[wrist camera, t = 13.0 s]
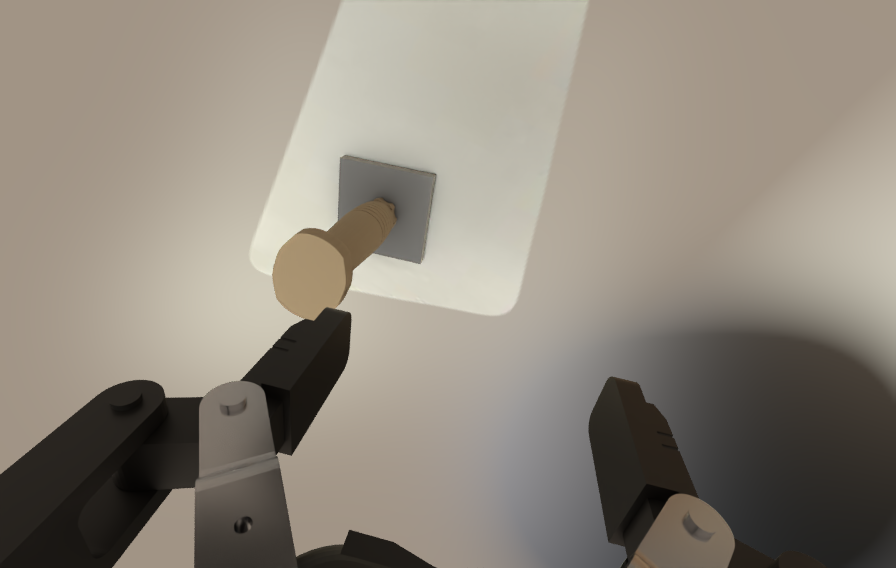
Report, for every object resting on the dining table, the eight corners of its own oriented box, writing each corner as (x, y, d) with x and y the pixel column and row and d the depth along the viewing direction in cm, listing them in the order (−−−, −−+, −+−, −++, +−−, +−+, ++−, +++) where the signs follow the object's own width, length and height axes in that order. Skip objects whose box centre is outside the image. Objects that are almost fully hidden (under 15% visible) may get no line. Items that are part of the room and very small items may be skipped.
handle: (350, 228, 41) (264, 299, 28) (371, 172, 38) (286, 220, 25) (392, 251, 41) (327, 331, 28) (417, 196, 38) (357, 257, 25)
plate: (345, 155, 39) (340, 157, 38) (435, 174, 38) (433, 177, 37) (341, 240, 43) (336, 245, 42) (422, 259, 42) (420, 263, 41)
